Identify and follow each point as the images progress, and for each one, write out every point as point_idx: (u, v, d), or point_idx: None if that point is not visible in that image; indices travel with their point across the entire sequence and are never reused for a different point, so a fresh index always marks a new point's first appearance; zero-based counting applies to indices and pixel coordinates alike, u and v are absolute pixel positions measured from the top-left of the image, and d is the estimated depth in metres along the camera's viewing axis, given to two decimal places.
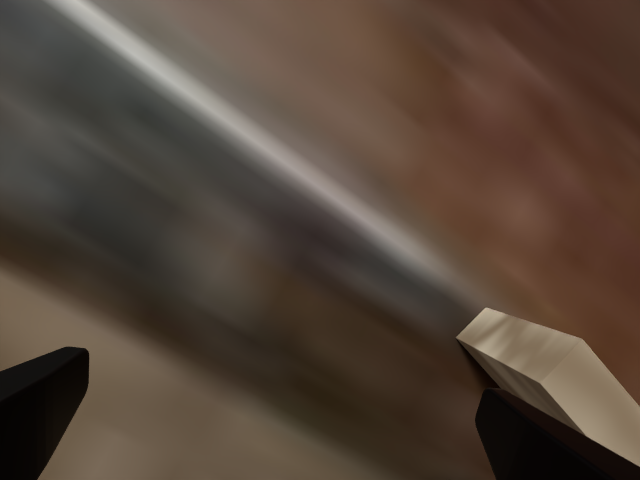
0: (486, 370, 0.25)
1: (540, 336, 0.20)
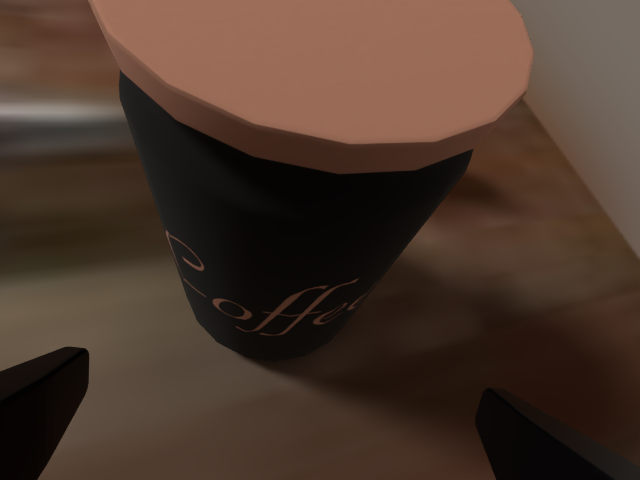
0: None
1: None
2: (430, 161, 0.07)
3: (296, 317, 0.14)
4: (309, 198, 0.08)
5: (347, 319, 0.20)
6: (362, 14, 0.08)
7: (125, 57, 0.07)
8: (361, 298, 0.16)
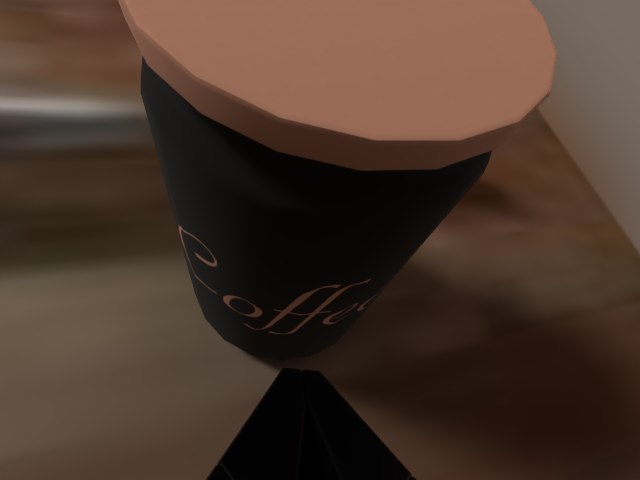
0: None
1: None
2: (452, 161, 0.07)
3: (306, 316, 0.14)
4: (329, 196, 0.08)
5: (355, 320, 0.20)
6: (386, 13, 0.08)
7: (153, 50, 0.07)
8: (371, 299, 0.16)
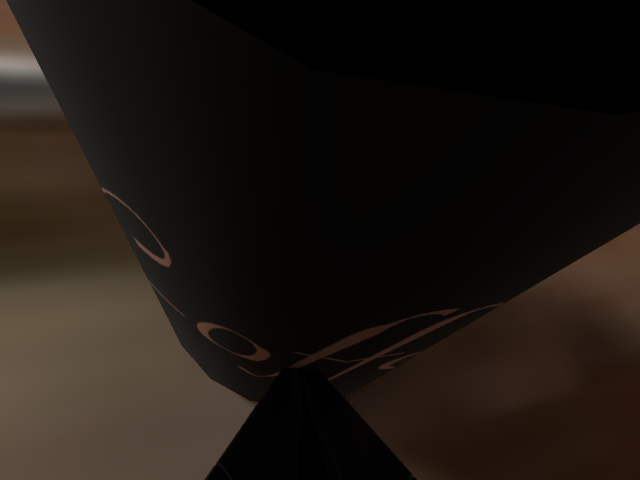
0: None
1: None
2: None
3: (356, 363, 0.07)
4: None
5: None
6: None
7: None
8: None
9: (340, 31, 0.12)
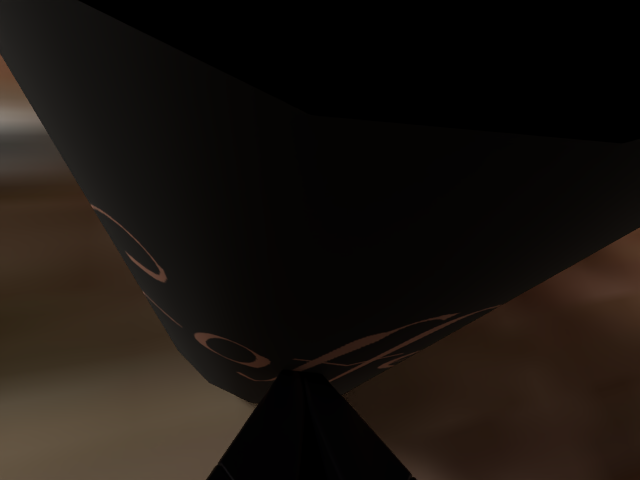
0: None
1: None
2: None
3: (356, 365, 0.07)
4: None
5: None
6: None
7: None
8: None
9: (324, 27, 0.12)
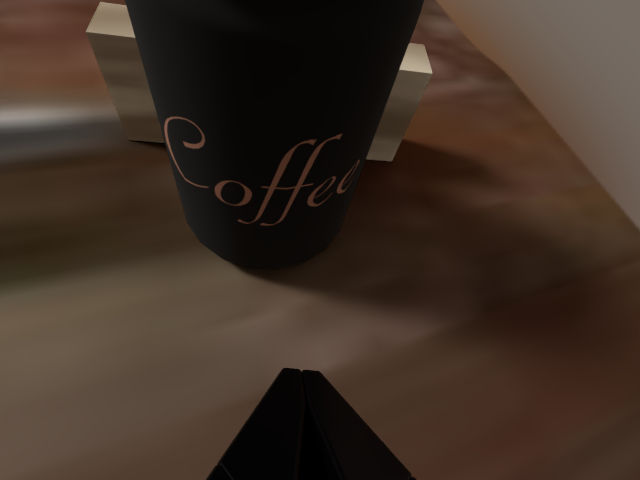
0: None
1: None
2: None
3: (292, 191, 0.16)
4: (290, 15, 0.10)
5: (338, 220, 0.22)
6: None
7: None
8: (348, 177, 0.17)
9: None
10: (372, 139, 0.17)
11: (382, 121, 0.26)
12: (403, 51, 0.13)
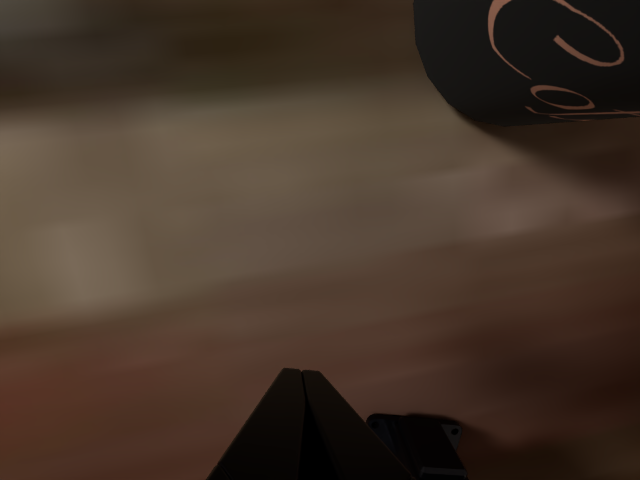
0: None
1: None
2: None
3: None
4: None
5: None
6: None
7: None
8: None
9: None
10: None
11: None
12: None
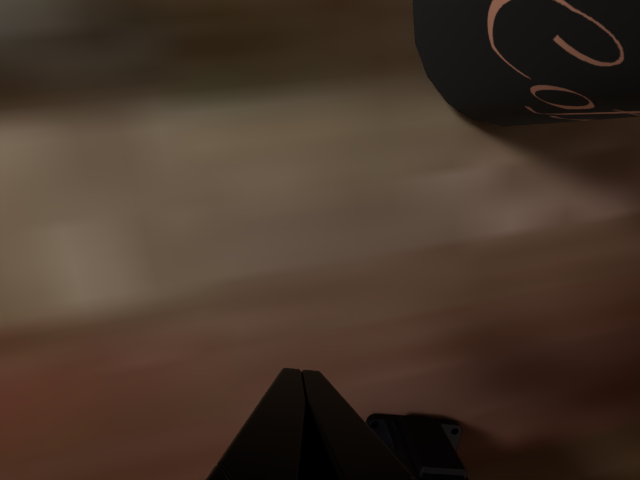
0: None
1: None
2: None
3: None
4: None
5: None
6: None
7: None
8: None
9: None
10: None
11: None
12: None
